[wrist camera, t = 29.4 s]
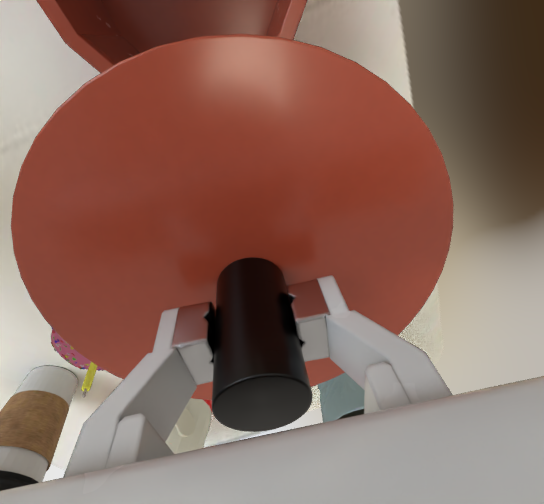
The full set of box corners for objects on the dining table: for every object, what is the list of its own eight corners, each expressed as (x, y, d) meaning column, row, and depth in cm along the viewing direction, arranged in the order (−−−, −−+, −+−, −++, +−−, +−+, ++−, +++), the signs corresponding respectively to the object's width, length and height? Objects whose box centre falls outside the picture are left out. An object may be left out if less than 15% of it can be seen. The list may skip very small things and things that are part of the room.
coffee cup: (1, 370, 40) (-104, 519, 27) (60, 351, 39) (-20, 495, 26) (47, 403, 44) (-24, 543, 32) (101, 387, 44) (49, 523, 31)
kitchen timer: (194, 434, 53) (183, 552, 41) (109, 423, 49) (67, 553, 36) (225, 388, 47) (224, 511, 34) (131, 370, 42) (90, 505, 30)
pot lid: (106, 394, 15) (53, 547, 11) (-81, 31, 7) (-642, 12, 3) (388, 365, 17) (450, 487, 12) (503, 37, 9) (821, 32, 4)
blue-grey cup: (388, 336, 44) (434, 420, 34) (336, 373, 48) (364, 459, 38) (343, 305, 40) (380, 392, 30) (289, 348, 43) (306, 439, 34)
